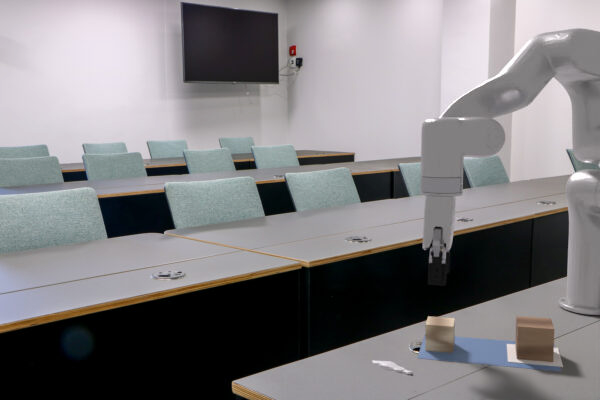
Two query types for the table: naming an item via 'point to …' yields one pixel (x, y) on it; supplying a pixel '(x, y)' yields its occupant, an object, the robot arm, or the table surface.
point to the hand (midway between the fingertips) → (439, 278)
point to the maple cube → (440, 334)
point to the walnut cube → (534, 339)
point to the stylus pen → (391, 366)
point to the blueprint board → (489, 354)
